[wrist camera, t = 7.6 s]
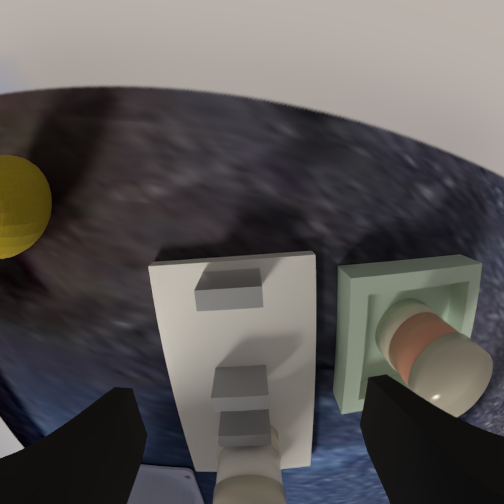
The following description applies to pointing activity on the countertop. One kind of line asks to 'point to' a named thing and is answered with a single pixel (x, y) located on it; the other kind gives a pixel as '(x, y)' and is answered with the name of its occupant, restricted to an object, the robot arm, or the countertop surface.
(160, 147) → the countertop surface
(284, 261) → the block
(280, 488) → the cylinder
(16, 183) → the lemon
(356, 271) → the parts tray
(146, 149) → the countertop surface
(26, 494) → the robot arm
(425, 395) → the marked fuse
